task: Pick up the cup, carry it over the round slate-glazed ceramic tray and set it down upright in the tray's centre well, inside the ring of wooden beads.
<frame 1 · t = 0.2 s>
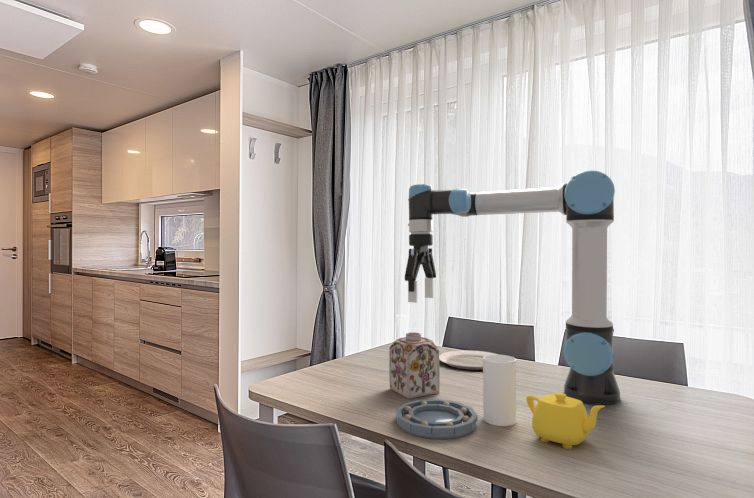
hand: (421, 300, 148), 28 cm above the table, fingers open, 13 cm apart
beads: (436, 414, 118), in the tray, point 2 cm above the table
decorative jar: (414, 391, 144), on the table
teapot: (563, 441, 107), on the table
plate: (471, 363, 178), on the table
cup: (499, 420, 119), on the table
tray: (436, 422, 118), on the table
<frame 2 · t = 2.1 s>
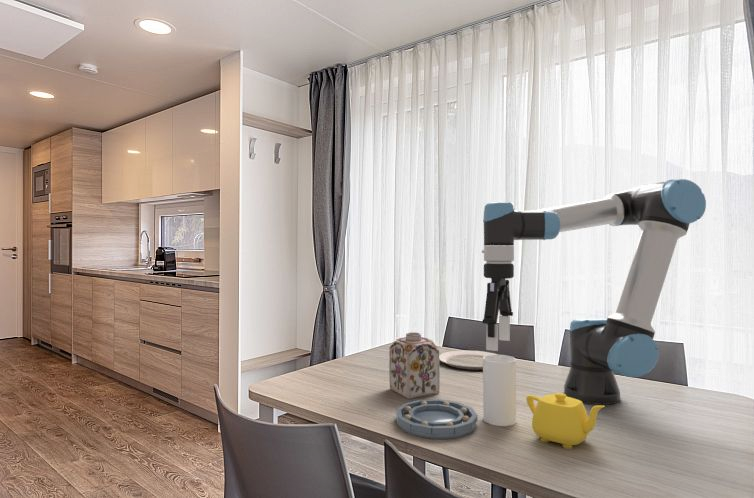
hand: (498, 345, 119), 19 cm above the table, fingers open, 13 cm apart
nothing on the table moved.
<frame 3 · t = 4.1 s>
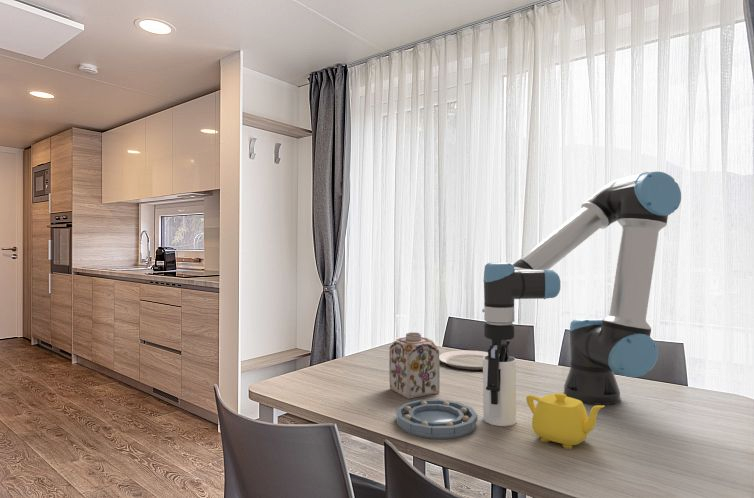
hand: (499, 410, 119), 3 cm above the table, fingers closed on cup, 8 cm apart
cup: (499, 420, 119), on the table, touching gripper
everything else where it was.
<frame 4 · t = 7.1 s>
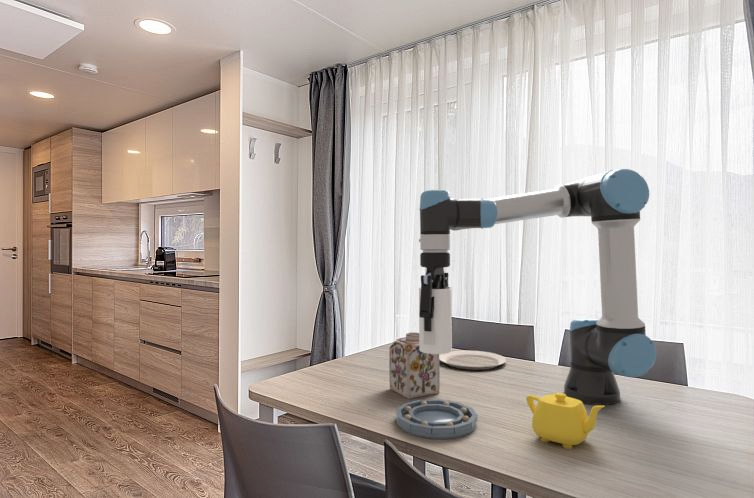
hand: (435, 340, 118), 21 cm above the table, fingers closed on cup, 8 cm apart
cup: (435, 351, 118), point 18 cm above the table, touching gripper
everything else where it was.
when the fingers open (5 cm above the table, at t = 10.4 s): cup drops 2 cm, resting on tray.
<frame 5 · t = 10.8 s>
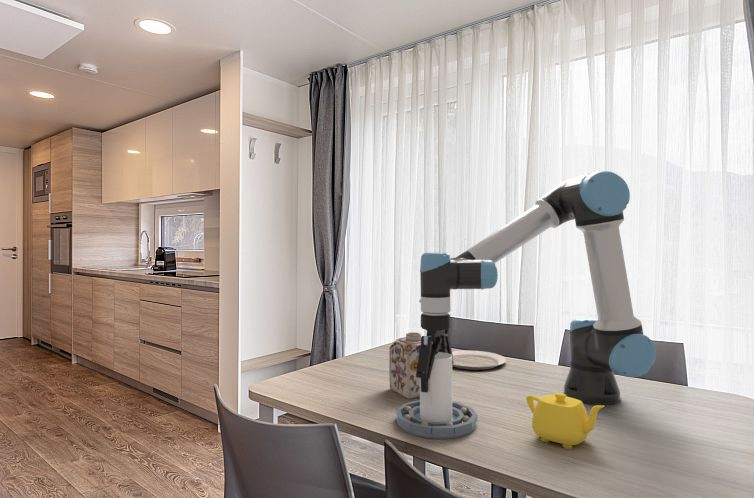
hand: (435, 396, 118), 7 cm above the table, fingers open, 13 cm apart
cup: (436, 418, 118), point 1 cm above the table, touching tray
everything else where it was.
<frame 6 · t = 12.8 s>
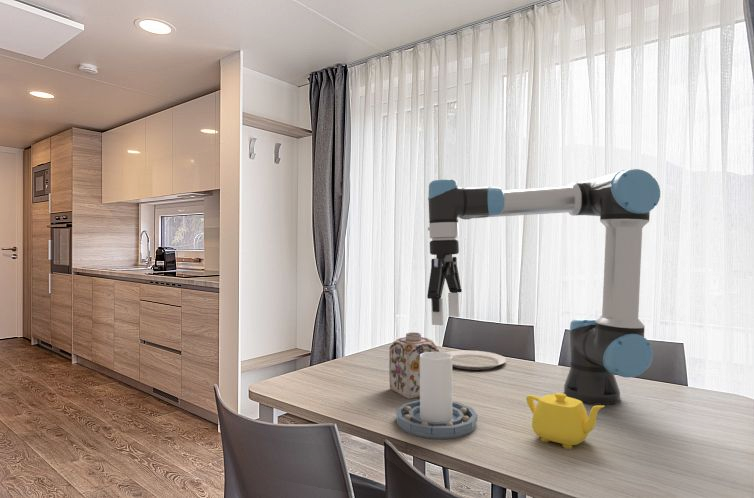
hand: (446, 320, 121), 25 cm above the table, fingers open, 13 cm apart
nothing on the table moved.
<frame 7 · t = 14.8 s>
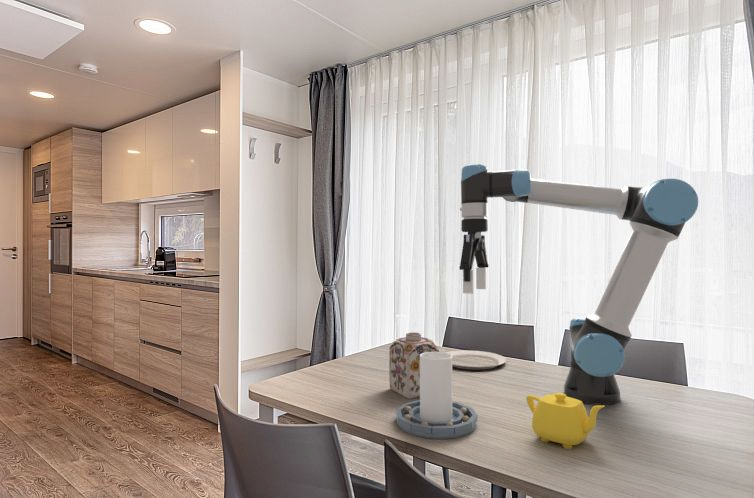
hand: (474, 291, 135), 32 cm above the table, fingers open, 13 cm apart
nothing on the table moved.
at the end: cup inside the target area on the tray (0.0 cm from its centre), point 1.0 cm above the tray's base; cup tilted 0°; the gripper is holding nothing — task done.
